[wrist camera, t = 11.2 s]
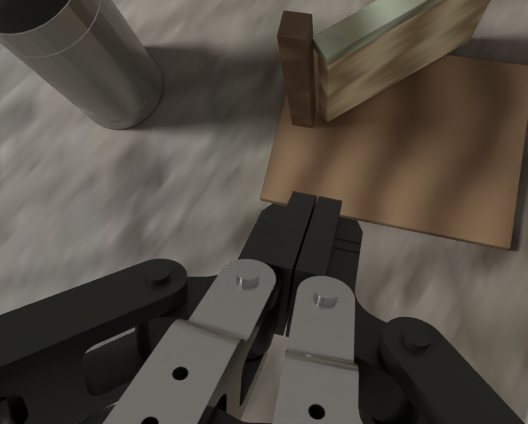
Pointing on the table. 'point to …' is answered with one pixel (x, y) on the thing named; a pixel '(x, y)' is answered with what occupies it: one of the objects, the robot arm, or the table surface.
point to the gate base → (406, 144)
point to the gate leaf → (387, 46)
